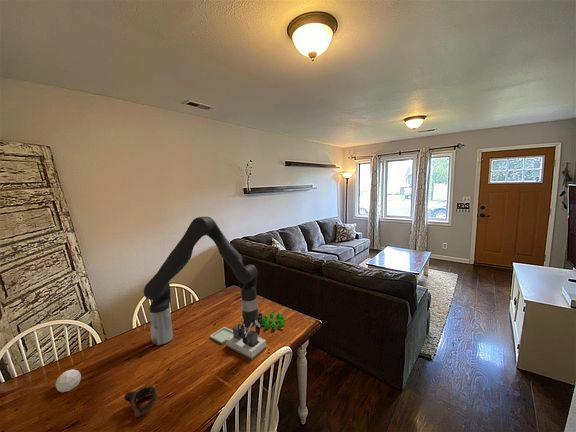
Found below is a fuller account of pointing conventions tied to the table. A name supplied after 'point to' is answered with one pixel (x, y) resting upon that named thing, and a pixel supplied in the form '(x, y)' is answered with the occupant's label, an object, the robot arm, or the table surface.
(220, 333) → the sage tray
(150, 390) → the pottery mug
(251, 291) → the robot arm
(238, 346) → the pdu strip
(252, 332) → the grey rectangular prism
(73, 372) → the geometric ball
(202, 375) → the table surface
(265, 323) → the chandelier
